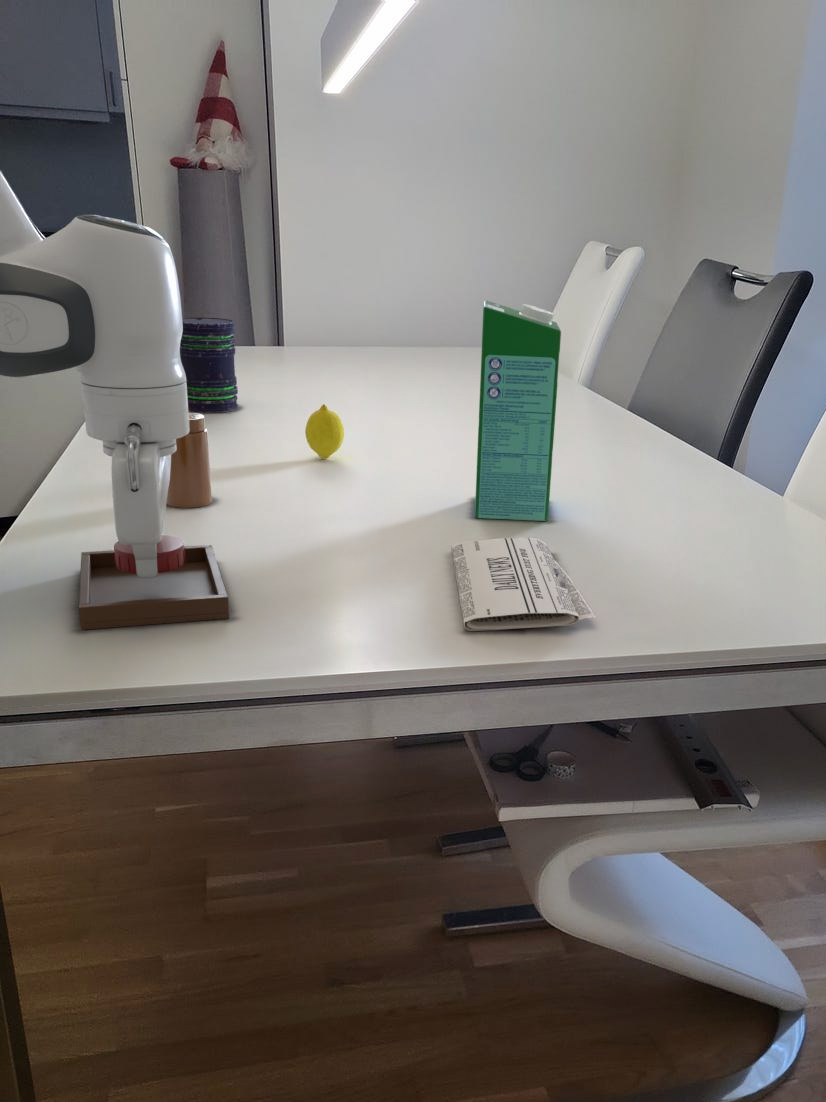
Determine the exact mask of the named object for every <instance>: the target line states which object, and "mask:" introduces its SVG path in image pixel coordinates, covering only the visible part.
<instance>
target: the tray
mask: <svg viewBox="0 0 826 1102" xmlns="http://www.w3.org/2000/svg"><path fill="white" fill-rule="evenodd" d="M184 546H185V563H184V565H183V566H181V567H179V568H177V569H175V570H171V571H167V572H162V573H157V575H156V576H155V577H151V578H141V577H139V576H138V575H137V574H136V573H129V572H124V571H121V570H119V569H118V568H117V567H116V566H115V562H114V549H113V550H112V549H111V550H96V551H81V552H80V553H81V555H80V572H79V575H80V576H79V593H78V595H79V596H78V614H79V623H80V630H81V631H86V630H99V629H109V628H111V629H113V628H123V627H134V626H135V627H136V626H150V625H160V624H161V625H162V624H163V625H164V624H175V623H187V622H200V621H211V620H212V621H214V620H225V619H229V618H230V613H229V612H230V607H229V596H228V593H227V590H226V587H225V583H224V580H223V576H222V573H221V571H220V567H219V563H218V560H217V558H216V554H215V551H214V548H213V545H212V544H202V545H201V544H200V545H187V546H186V545H184Z"/></svg>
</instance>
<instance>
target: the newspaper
mask: <svg viewBox="0 0 826 1102" xmlns="http://www.w3.org/2000/svg"><path fill="white" fill-rule="evenodd" d="M450 549H451V555H452V561H453V568H454V574H455V579H456V587H457V592H458V598H459V606H460V610H461V617H462V623H463V629H466V630H468V631H470V632H472V631H473V632H474V631H475V632H476V631H503V630H513V629H531V628H548V627H561V626H573V625H574V624H576V623H578V622H579V621H581V620H584V619H592V618H594V619H597V617H596V615H595V613H594V612H593V610H592V609H591V608H590V606H589V604H588V603H587V601H586V600H585V599H584V596H583V595H582V594H581V592H580V591H579V589H578V588H577V586H576V584H575V583H574V581H573V580H572V578H571V577H570V576H569V575H568V573H566V571H565V570H564V569H563V568H562V567H561V566H560V564H559V563H558V562H557V561H556V560H555V559H554V557H553V555H552V552H551V550H550V548H549V547H548V543H547V542H544V541H543V540H542V539H539V538H538V537H501V538H499V537H498V538H491V539H478V540H469V541H468V540H467V541H459V542H457V543H455V544H452V545H451V548H450Z"/></svg>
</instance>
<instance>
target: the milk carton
mask: <svg viewBox="0 0 826 1102" xmlns="http://www.w3.org/2000/svg"><path fill="white" fill-rule="evenodd" d="M554 316H555V313H553V312H552V311H550V310H546V309H543V308H541V307H537V306H534V305H532V304H526V303H522V305H521V307H520V310H518V309H515V308H512V307H508V306H505V305H502V304H499V303H495V302H493V301H489V300H486V299H485V300H484V301H483V311H482V331H481V353H480V355H481V357H480V360H481V361H480V377H479V378H480V380H479V382H480V383H479V404H478V405H479V406H478V428H477V429H478V431H477V449H476V450H477V452H476V453H477V454H476V473H475V474H476V475H475V480H476V481H475V500H474V501H475V503H474V518H475V519H489V520H490V519H491V520H492V519H493V520H515V521H536V522H539V521H540V522H548V521H549V512H550V511H549V510H550V495H551V482H552V468H553V466H552V465H553V455H554V454H553V452H554V441H555V439H554V438H555V425H556V412H557V411H556V410H557V398H558V384H559V371H560V369H559V368H560V354H561V343H562V342H561V340H562V330H561V328H560V327H559V324H558V323H557V322H556V321H553V319H554Z"/></svg>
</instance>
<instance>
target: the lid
mask: <svg viewBox="0 0 826 1102" xmlns="http://www.w3.org/2000/svg"><path fill="white" fill-rule="evenodd" d="M185 546H186V545H185V542H184V540H183V539H181V538H180V537H176V536H173V535H167V534H162V538H161V541H160V542H159V543H156V550H157V563H158V573H162V572H167V571H171V570H175V569H177V568H179V567H181V566H183V565H184V563H185ZM113 550H114V562H115V566H116V567H117V568H118V569H119V570H121V571H124V572H129V573H136V574H137V572H136V562H135V557H134V553H133V550H132V546H131V545H124V544H121V543H120V542H119V541H118V540H117V541H116V542H115V543H114V545H113Z"/></svg>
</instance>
